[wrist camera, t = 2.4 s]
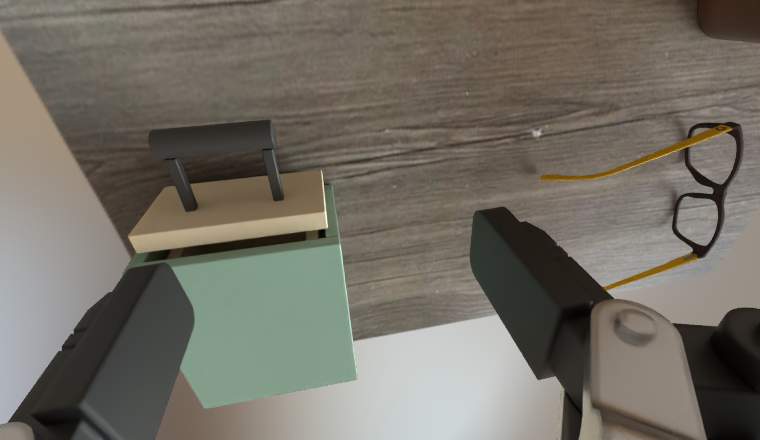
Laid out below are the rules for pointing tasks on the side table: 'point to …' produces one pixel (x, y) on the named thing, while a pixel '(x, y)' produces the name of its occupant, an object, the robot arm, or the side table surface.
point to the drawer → (228, 196)
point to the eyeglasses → (717, 195)
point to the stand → (730, 19)
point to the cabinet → (265, 317)
